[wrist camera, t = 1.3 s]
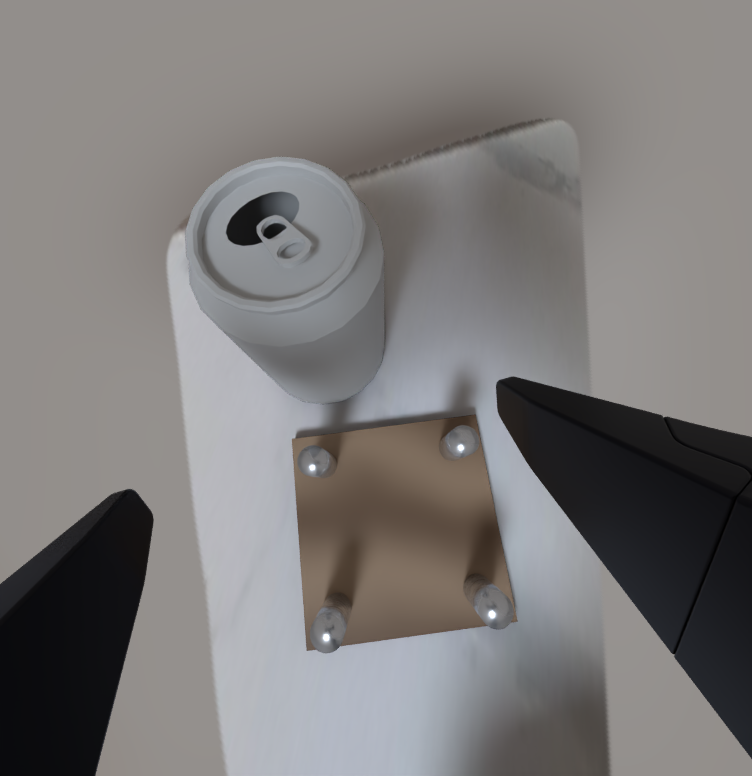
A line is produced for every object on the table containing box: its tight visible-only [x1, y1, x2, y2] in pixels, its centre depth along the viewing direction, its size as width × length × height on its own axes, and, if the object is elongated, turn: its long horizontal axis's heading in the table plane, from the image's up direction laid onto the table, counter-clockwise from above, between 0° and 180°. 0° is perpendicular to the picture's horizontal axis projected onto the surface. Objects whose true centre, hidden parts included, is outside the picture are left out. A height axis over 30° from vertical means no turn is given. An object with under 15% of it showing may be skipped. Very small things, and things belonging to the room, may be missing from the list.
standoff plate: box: [292, 415, 518, 653], centre depth 19 cm, size 11×11×4 cm
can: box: [185, 157, 384, 404], centre depth 18 cm, size 8×8×12 cm
